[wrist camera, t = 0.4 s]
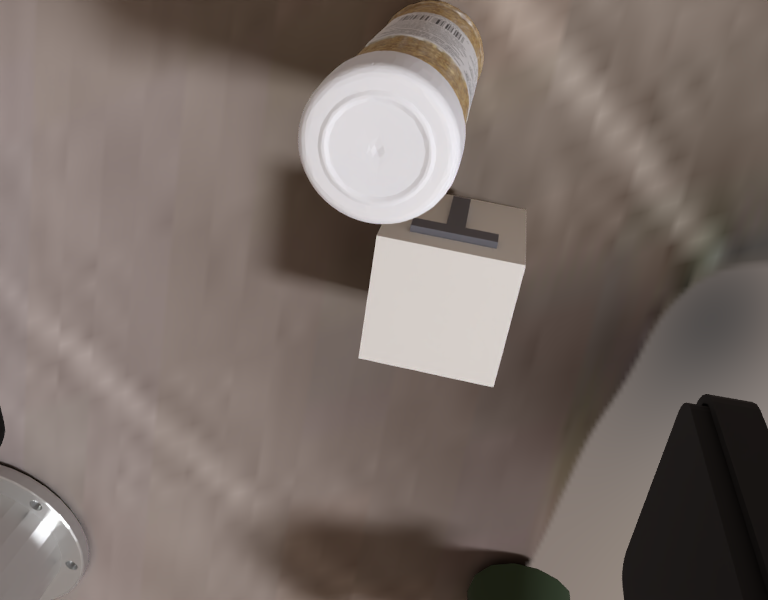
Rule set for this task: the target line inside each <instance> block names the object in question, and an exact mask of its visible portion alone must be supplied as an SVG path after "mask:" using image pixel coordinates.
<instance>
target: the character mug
mask: <svg viewBox="0 0 768 600" xmlns="http://www.w3.org/2000/svg"><path fill="white" fill-rule="evenodd" d="M467 598H468V600H570V595H569V591H568V590H567V589H566V588H565V587H564V586H563V585H562V584H561V583H560V582H559V581H558V580H557V579H555V578H553V577H551V576H550V575H548V574H546V573H544V572H542V571H540V570H538V569H535V568H531V567H527V566H523V565H519V564H515V563H512V564H500V565H491V566H489V567H488V568H486V569H484V570H483V571H481V572H479V573H478V574H476V575H475V576H474V578H473V580H472V582H471V584H470V587H469V589H468V591H467Z"/></svg>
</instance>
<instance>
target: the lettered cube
mask: <svg viewBox="0 0 768 600" xmlns="http://www.w3.org/2000/svg"><path fill="white" fill-rule="evenodd" d="M525 267H526V209H521V208H516V207H511V206H506V205H500V204H495V203H490V202H485V201H480V200H475V199H470V198H465V197H459V196H454V195H449V194H445V195H444V196H443V198H442V199H441V200H440V201H439V202H438V203H437V204H436V205H435V206H434V207H432V208H431V209H430V210H428V211H426V212H425V213H423V214H421V215H420V216H418V217H415V218H413V219H410V220H407V221H404V222H400V223H394V224H382V225H381V227H380V229H379V231H378V234H377V237H376V243H375V250H374V257H373V264H372V271H371V277H370V284H369V291H368V298H367V305H366V311H365V318H364V325H363V332H362V339H361V345H360V352H359V358H360V359H365V360H370V361H374V362H379V363H383V364H388V365H393V366H397V367H402V368H407V369H411V370H416V371H420V372H425V373H430V374H434V375H439V376H444V377H448V378H453V379H457V380H462V381H467V382H471V383H476V384H481V385H485V386H490V387H494V383H495V379H496V376H497V372H498V368H499V364H500V361H501V357H502V353H503V349H504V346H505V342H506V338H507V334H508V331H509V327H510V323H511V319H512V316H513V312H514V308H515V304H516V300H517V297H518V293H519V289H520V285H521V282H522V278H523V274H524V270H525Z"/></svg>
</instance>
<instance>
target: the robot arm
mask: <svg viewBox="0 0 768 600" xmlns="http://www.w3.org/2000/svg"><path fill="white" fill-rule="evenodd" d="M4 433H5V426H4V421H3V416H2V412H1V408H0V446H1V444H2V441H3V438H4ZM88 563H89V547H88V542H87V538H86V536H85V533H84V531H83V529H82V527H81V525H80V523H79V522H78V520H77V519H76V517H75V516H74V514H73V513H72V511H71V510H70V509H69V508H68V507H67V506H66V505H65V504H64V503H63V502H62V500H61V499H60V498H58V497H57V496H56V495H55V494H54V493H52V492H51V491H50V490H49V489H48V488H46V487H45V486H43V485H42V484H40V483H39V482H37V481H36V480H34V479H32V478H31V477H29V476H27V475H25V474H23V473H21V472H19V471H17V470H14V469H12V468H9V467H6V466H3V465H0V600H52V599H56V598H60V597H61V596H63V595H65V594H67V593H69V592H70V591H71V590H72V589H73V588H74V587H75V586H76V585H77V584H78V582H79V581H80V579H81V578H82V576H83V575H84V573H85V572H86V569H87V566H88ZM622 581H623V592H624V600H768V428H767V426H766V423H765V420H764V418H763V416H762V413H761V411H760V409H759V407H758V406H757V404H755V403H753V402H748V401H743V400H737V399H731V398H725V397H720V396H715V395H709V394H705V395H702V397H701V398H700V399H699V400H698V402H697V404H690V403H684V404H683V405H682V406H681V408H680V410H679V412H678V415H677V417H676V420H675V423H674V426H673V428H672V431H671V433H670V436H669V439H668V442H667V444H666V447H665V450H664V452H663V455H662V458H661V460H660V463H659V466H658V468H657V471H656V474H655V476H654V479H653V482H652V484H651V487H650V490H649V492H648V495H647V498H646V501H645V503H644V506H643V508H642V511H641V514H640V516H639V519H638V522H637V524H636V527H635V530H634V533H633V535H632V538H631V540H630V543H629V546H628V548H627V551H626V555H625V558H624V563H623V571H622Z"/></svg>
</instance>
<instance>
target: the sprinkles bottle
mask: <svg viewBox="0 0 768 600" xmlns="http://www.w3.org/2000/svg"><path fill="white" fill-rule="evenodd" d="M483 60H484V52H483V45H482V40H481V37H480V34H479V32H478V30H477V28H476V26H475V25H474V23H473V22H472V20H471V19H470V18H469V17H468V16H467V15H466V14H465V13H463V12H462V11H461V10H460V9H458V8H456V7H454V6H452V5H450V4H448V3H446V2H442V1H421V2H418V3H415V4H411V5H408V6H406V7H405V8H403V9H402V10H400V11H399V12H398V13H396V14H395V15H394V16H393V17H392V18H391V19H390V21H389V22H388V24H387V26H386V27H385V28H383V29H382V30H381V31H380V32H379V33H378V34H377V35H376V36H375V37H374V38H373V39H372V40H370V41H369V42H368V43H367V45H366V46H365V47H364V49H363V50H362V51H360V53H359V54H358V55H357V56H356V57H353V58H351V59H349V60H347V61H345V62H343V63H342V64H341V65H339V66H338V67H337V68H336V69H334V70H333V71H332V72H331V73H330V74H329V75H328V76H327V77H326V78H325V79H324V80H323V81H322V82H321V84H320V85H319V86H318V87H317V88H316V90H315V91H314V92H313V93H312V95H311V97H310V98H309V100H308V102H307V103H306V106H305V108H304V110H303V113H302V116H301V120H300V124H299V132H298V147H299V154H300V159H301V162H302V165H303V168H304V171H305V173H306V175H307V177H308V179H309V181H310V183H311V184H312V186H313V187H314V189H315V190H316V191H317V193H318V194H319V195H320V196H321V197H322V198H323V199H324V200H325V201H326V202H327V203H328V204H329V205H331V206H332V207H333V208H335V209H336V210H338V211H339V212H341V213H343V214H345V215H347V216H348V217H351V218H353V219H356V220H359V221H363V222H367V223H373V224H394V223H400V222H404V221H407V220H410V219H413V218H415V217H418V216H420V215H421V214H423V213H425V212H426V211H428V210H430V209H431V208H432V207H434V206H435V205H436V204H437V203H438V202H439V201H440V200H441V199H442V198H443V196H444V195H445V194H446V192H447V191H448V190H449V188H450V187H451V185H452V183H453V181H454V179H455V177H456V174H457V171H458V168H459V165H460V162H461V158H462V154H463V150H464V145H465V136H466V129H465V125H466V122H467V119H468V114H469V111H470V107H471V103H472V100H473V96H474V92H475V88H476V84H477V81H478V79H479V77H480V74H481V71H482V66H483Z"/></svg>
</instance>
